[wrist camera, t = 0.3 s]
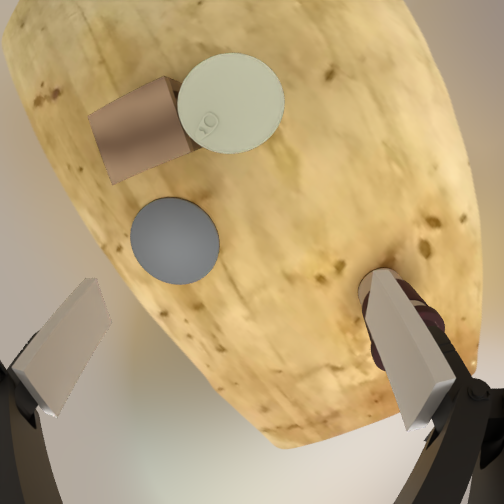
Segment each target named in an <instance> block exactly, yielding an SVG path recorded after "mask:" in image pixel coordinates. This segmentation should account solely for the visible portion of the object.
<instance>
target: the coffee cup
mask: <svg viewBox="0 0 504 504" xmlns="http://www.w3.org/2000/svg"><path fill="white" fill-rule="evenodd" d="M376 270H389V271H390V272H391V274H392V275H393V277H394V278H395V280H396V281H397V282H398V284H399V285H400V287H401V288H402V290H403V291H404V293H405V294H406V296H407V297H408V299H409V300H410V302H411V303H412V305H413V306H414V308H415V309H416V311H417V312H418V314H419V316H420V317H421V319H422V320H423V322H424V323H425V325H426V327H428V326H435V325H436V326H437V327H438V328H439V329H441V330H442V331H443V332H445V324H444V321H443V319H442V318H441V316H440V315H439V314H438V312H437V311H436V310H435V309H433V308H432V307H429V306H428V305H427V304H426V302H425V301H424V300H423V299H422V298H421V297H420V296H419V294H418V293H417V292H416V291H415V290H414V289H413V288H412V287H411V286H410V285H409V284H408V283H407V282H406V281H404V280H403V279H402V278H401V277H400V276H399V275H398V273H397V272H395V271H394V270H392V269H389V268H380V269H376ZM372 276H373V271H372V272H370V273H369V274H368V275H367V276H365V278H364V279H363V280H362V282H361V284H360V286H359V290H358V296H359V300H360V303H361V306H362V314H363V317H364V320H365V317H366V311H367V306H368V300H369V295H370V289H371V282H372ZM365 324H366V327H367V330H368V334H369V337H370V340H371V354H372V357H373V360H374V362H375V364H376V365H377V367H379V368H380V369H381V370H383V371H386V370H385V368H384V365H383V363H382V360H381V357H380V355H379V352H378V350H377V347H376V345H375V342H374V340H373V337H372V335H371V332H370V330H369V328H368V325H367V323H366V320H365Z"/></svg>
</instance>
